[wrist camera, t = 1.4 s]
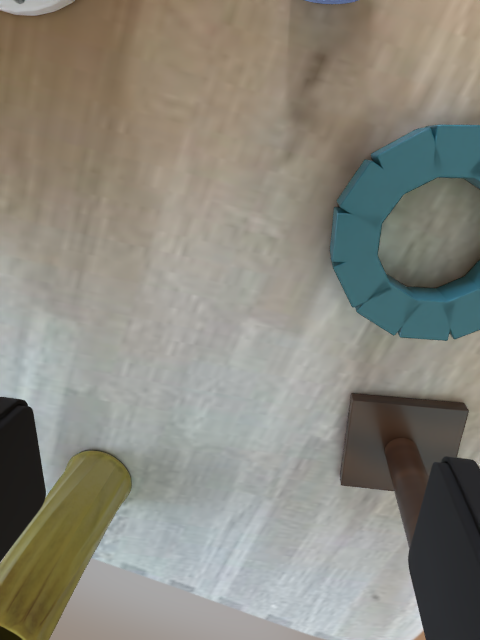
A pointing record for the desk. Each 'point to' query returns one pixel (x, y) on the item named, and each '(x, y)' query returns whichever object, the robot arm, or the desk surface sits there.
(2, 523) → the robot arm
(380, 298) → the ring
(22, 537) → the vase
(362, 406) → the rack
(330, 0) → the decorative dice
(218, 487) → the desk surface
